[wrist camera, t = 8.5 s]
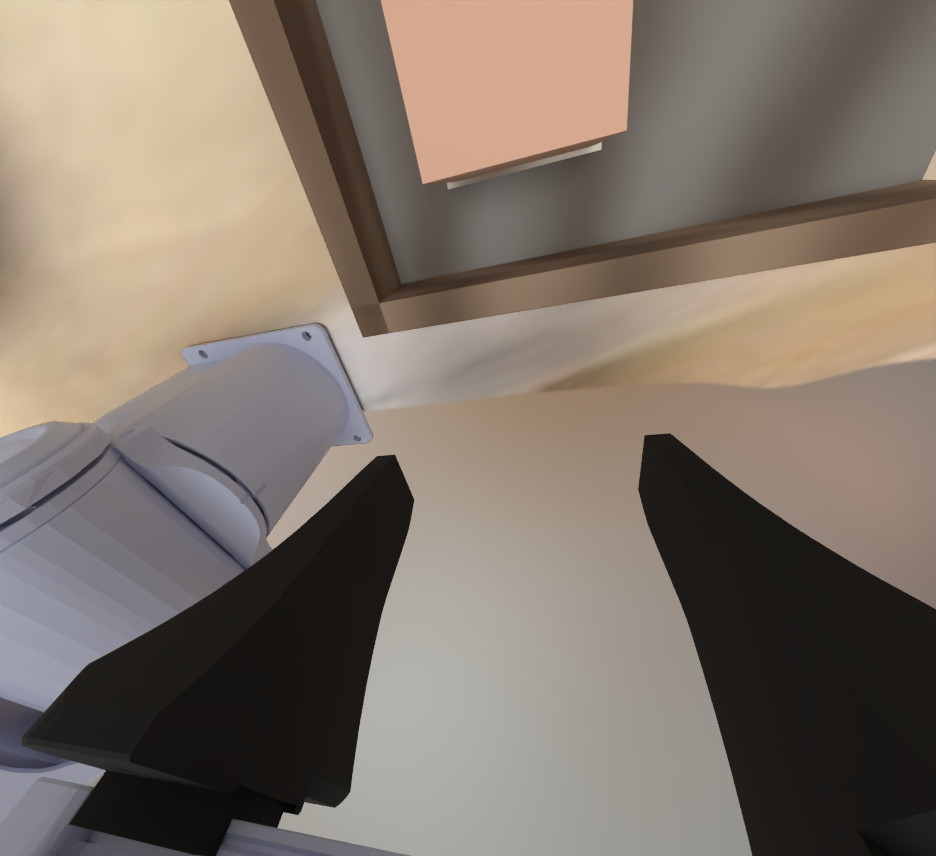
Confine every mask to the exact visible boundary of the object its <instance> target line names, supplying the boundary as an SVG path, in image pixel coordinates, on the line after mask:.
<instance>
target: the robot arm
mask: <svg viewBox="0 0 936 856" xmlns="http://www.w3.org/2000/svg"><path fill="white" fill-rule="evenodd" d="M306 332H308V333H309V334H310V335H311V338H309V337H308V336H307V335H306ZM204 351H205V352H206V353H207V354H206V353H205V352H204ZM182 356H183V357H184V359H185V360H186V362H187V363H188V364H189V366H190V367H188V368H186V369H185V370H183V371H181V372H179V373H178V374H176V375H174V376H172V377H171V378H169V379H167V380H165V381H164V382H162V383H160V384H158V385H157V386H155V387H153V388H151V389H150V390H148V391H146V392H144V393H143V394H141V395H139V396H137V397H135V398H134V399H132V400H130V401H128V402H127V403H125V404H123V405H121V406H120V407H118V408H116V409H114V410H113V411H111V412H109V413H107V414H106V415H104V416H103V417H101V418H100V419H99V420H97V421H96V422H95V423H78V424H77V423H69V422H59V421H53V422H47V423H43V424H39V425H36V426H33V427H29V428H26V429H23V430H21V431H18V432H15V433H12V434H10V435H7V436H4V437H2V438H0V856H409V855H404V854H399V853H394V852H389V851H384V850H380V849H375V848H370V847H365V846H361V845H356V844H351V843H346V842H342V841H336V840H332V839H327V838H322V837H317V836H313V835H308V834H303V833H298V832H293V831H289V830H284V829H279V828H277V827H278V824H279V821H280V819H281V816H282V814H283V812H286V813H291V814H296V815H298V814H299V813H300V812H301V810H302V807H303V804H304V802H307V803H312V804H319V805H323V806H329V807H334V808H335V807H336V806H338V805H339V804H340V803H341V802H342V801H343V800H344V799H345V798H346V797H347V796H348V794H349V793H350V789H351V781H352V773H353V766H354V759H355V752H356V745H357V738H358V731H359V725H360V719H361V713H362V708H363V702H364V696H365V690H366V684H367V679H368V674H369V669H370V665H371V660H372V655H373V650H374V645H375V641H376V636H377V632H378V627H379V623H380V619H381V614H382V611H383V607H384V604H385V600H386V597H387V594H388V591H389V588H390V584H391V582H392V578H393V576H394V573H395V570H396V566H397V564H398V561H399V558H400V554H401V552H402V549H403V545H404V542H405V539H406V536H407V533H408V529H409V525H410V520H411V515H412V509H413V503H414V498H413V496H412V494H411V491H410V489H409V487H408V484H407V482H406V480H405V477H404V475H403V472H402V470H401V468H400V466H399V463H398V461H397V459H396V456H395V455H388V456H377V457H376V458H375V459H374V460H372V462H370V463H369V464H368V465H367V466H366V467H365V468H364V469H363V470H362V471H360V472H359V473H358V474H357V475H356V476H355V477H354V478H353V479H352V480H351V481H350V482H349V483H348V484H347V485H346V486H345V487H344V488H343V489H342V490H341V491H340V492H339V493H338V494H336V495H335V496H334V497H333V498H332V499H331V500H330V501H329V502H328V503H327V504H326V505H325V506H324V507H323V508H322V509H320V510H319V511H318V512H317V513H316V514H315V515H314V516H312V517H311V518H310V519H309V520H308V521H307V522H306V523H305V524H304V525H302V526H301V527H300V528H299V529H298V530H297V531H296V532H294V533H293V534H292V535H291V536H290V537H288V538H287V539H286V540H285V541H283V542H282V543H281V544H280V545H278V546H277V547H276V548H275V549H271V547H270V546H269V544H268V542H267V540H266V538H267V536H268V535H269V533H270V532H271V531H272V529H273V528H274V526H275V525H276V524H277V522H278V521H279V519H280V518H281V516H282V515H283V514H284V512H285V511H286V510H287V508H288V507H289V505H290V504H291V503H292V501H293V500H294V498H295V497H296V495H297V494H298V492H299V491H300V490H301V488H302V487H303V486H304V484H305V483H306V481H307V480H308V479H309V477H310V476H311V474H312V473H313V471H314V470H315V469H316V467H317V466H318V464H319V463H320V462H321V460H322V459H323V457H324V456H325V455H326V453H327V452H328V450H329V449H330V448H331V446H340V445H351V444H362V443H369V442H371V440H372V439H373V433H372V431H371V429H370V426H369V424H368V422H367V420H366V418H365V416H364V413H363V411H362V409H361V407H360V404H359V402H358V400H357V398H356V396H355V394H354V391H353V389H352V387H351V385H350V383H349V380H348V378H347V376H346V374H345V372H344V370H343V367H342V365H341V363H340V361H339V359H338V356H337V354H336V352H335V350H334V348H333V346H332V343H331V341H330V339H329V337H328V335H327V332H326V331H325V329H324V328H323V327H322V326H321V325H319V324H308V325H303V326H297V327H292V328H286V329H281V330H275V331H270V332H264V333H259V334H254V335H248V336H243V337H237V338H232V339H226V340H221V341H215V342H210V343H204V344H199V345H193V346H188V347H186V348H184V349H182ZM356 435H358V436H360V438H359V437H357V436H356ZM638 490H639V493H640V498H641V501H642V505H643V509H644V512H645V516H646V520H647V523H648V526H649V528H650V531H651V533H652V536H653V538H654V540H655V543H656V545H657V548H658V550H659V552H660V555H661V557H662V560H663V562H664V564H665V567H666V569H667V571H668V574H669V576H670V579H671V581H672V584H673V586H674V588H675V591H676V593H677V595H678V598H679V600H680V603H681V605H682V608H683V611H684V613H685V616H686V618H687V621H688V624H689V627H690V630H691V634H692V636H693V640H694V643H695V647H696V650H697V653H698V656H699V660H700V663H701V666H702V669H703V673H704V676H705V679H706V683H707V686H708V690H709V693H710V697H711V700H712V703H713V707H714V710H715V713H716V717H717V721H718V724H719V728H720V731H721V735H722V739H723V743H724V746H725V750H726V753H727V757H728V761H729V765H730V768H731V772H732V775H733V780H734V784H735V788H736V792H737V796H738V799H739V803H740V807H741V811H742V815H743V819H744V823H745V826H746V831H747V835H748V839H749V843H750V847H751V851H752V856H936V609H934V608H932V607H930V606H929V605H927V604H925V603H923V602H921V601H920V600H918V599H916V598H914V597H912V596H910V595H909V594H907V593H905V592H903V591H901V590H899V589H898V588H896V587H894V586H892V585H890V584H888V583H887V582H885V581H883V580H881V579H879V578H878V577H875V576H874V575H872V574H870V573H869V572H867V571H865V570H864V569H861V568H860V567H858V566H857V565H855V564H853V563H851V562H850V561H848V560H847V559H845V558H843V557H841V556H840V555H838V554H837V553H835V552H833V551H832V550H830V549H828V548H827V547H825V546H823V545H822V544H820V543H819V542H817V541H815V540H814V539H812V538H810V537H809V536H807V535H806V534H804V533H803V532H801V531H799V530H798V529H796V528H795V527H793V526H792V525H790V524H789V523H787V522H786V521H784V520H783V519H782V518H780V517H779V516H777V515H776V514H774V513H773V512H771V511H770V510H768V509H767V508H766V507H764V506H763V505H761V504H760V503H758V502H757V501H756V500H754V499H753V498H751V497H750V496H749V495H747V494H746V493H745V492H743V491H742V490H740V489H739V488H738V487H736V486H735V485H734V484H733V483H731V482H730V481H728V480H727V479H726V478H725V477H723V476H722V475H721V474H719V473H718V472H717V471H716V470H715V469H713V468H712V467H711V466H710V465H708V464H707V463H706V462H704V461H703V460H702V459H701V458H700V457H698V456H697V455H696V454H695V453H694V452H692V451H691V450H690V449H689V448H687V447H686V446H685V445H684V444H682V443H681V442H680V441H679V440H678V439H676V438H675V437H674V436H673V435H671V434H657V435H645V437H644V446H643V454H642V463H641V471H640V480H639V489H638ZM104 771H106V772H105V773H104V775H103V776H102V778H101V779H100V781H99V782H98V783H97V785H96V786H95V787H91V786H89V785H90V784H91V783H92V782H93V781H94V780H96V779H97V778H98V777H99V776H100V775H101V774H102V773H103V772H104Z"/></svg>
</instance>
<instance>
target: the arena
mask: <svg viewBox="0 0 936 856" xmlns="http://www.w3.org/2000/svg"><path fill="white" fill-rule="evenodd" d="M229 2H230V4H231V7H232V9H233V12H234V14H235V17H236V19H237V22H238V24H239V27H240V29H241V32H242V34H243V37H244V39H245V42H246V44H247V47H248V49H249V52H250V54H251V57H252V60H253V62H254V65H255V67H256V70H257V72H258V75H259V77H260V80H261V82H262V85H263V87H264V90H265V92H266V95H267V97H268V100H269V102H270V105H271V107H272V110H273V112H274V115H275V117H276V120H277V122H278V125H279V127H280V130H281V132H282V135H283V137H284V140H285V142H286V145H287V148H288V150H289V153H290V155H291V158H292V160H293V163H294V165H295V168H296V170H297V173H298V175H299V178H300V180H301V183H302V185H303V188H304V190H305V193H306V195H307V198H308V200H309V203H310V205H311V208H312V210H313V213H314V215H315V218H316V220H317V223H318V225H319V228H320V230H321V233H322V236H323V238H324V241H325V243H326V246H327V248H328V251H329V253H330V256H331V258H332V261H333V263H334V266H335V268H336V271H337V273H338V276H339V278H340V281H341V283H342V286H343V288H344V291H345V293H346V296H347V298H348V301H349V303H350V306H351V308H352V311H353V313H354V316H355V318H356V321H357V324H358V326H359V329H360V331H361V334H362V336H363V337H369V336H375V335H381V334H387V333H393V332H399V331H405V330H411V329H417V328H423V327H429V326H435V325H441V324H447V323H453V322H459V321H465V320H471V319H477V318H483V317H489V316H495V315H501V314H507V313H513V312H519V311H526V310H532V309H538V308H544V307H550V306H556V305H562V304H568V303H574V302H580V301H586V300H592V299H598V298H604V297H610V296H616V295H622V294H628V293H634V292H640V291H646V290H652V289H658V288H664V287H670V286H676V285H682V284H688V283H694V282H700V281H706V280H712V279H718V278H724V277H730V276H737V275H743V274H749V273H755V272H761V271H767V270H773V269H779V268H785V267H791V266H797V265H803V264H809V263H815V262H821V261H827V260H833V259H839V258H845V257H851V256H857V255H863V254H869V253H875V252H881V251H887V250H893V249H899V248H905V247H911V246H917V245H923V244H929V243H935V242H936V180H922V179H923V177H924V175H925V172H926V170H927V168H928V166H929V164H930V161H931V159H932V157H933V155H934V153H935V151H936V0H633V16H632V36H631V56H630V76H629V96H628V116H627V131H624V132H622V133H620V134H618V135H616V136H613V137H611V138H609V139H607V140H604V141H602V142H600V143H598V144H596V145H593V146H591V147H587V148H583V149H580V150H576V151H572V152H568V153H564V154H560V155H556V156H553V157H549V158H545V159H541V160H537V161H533V162H529V163H526V164H522V165H518V166H514V167H510V168H506V169H502V170H499V171H495V172H491V173H487V174H483V175H479V176H475V177H472V178H468V179H464V180H460V181H456V182H448V183H433V184H423V183H422V179H421V174H420V170H419V166H418V161H417V157H416V152H415V148H414V144H413V139H412V135H411V131H410V126H409V122H408V117H407V113H406V109H405V104H404V100H403V96H402V91H401V87H400V82H399V78H398V74H397V69H396V65H395V61H394V56H393V52H392V47H391V43H390V39H389V34H388V30H387V26H386V21H385V17H384V12H383V8H382V4H381V0H229Z"/></svg>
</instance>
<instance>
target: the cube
mask: <svg viewBox="0 0 936 856" xmlns="http://www.w3.org/2000/svg"><path fill="white" fill-rule="evenodd" d="M381 4H382V8H383V12H384V17H385V21H386V26H387V30H388V34H389V39H390V43H391V47H392V52H393V56H394V61H395V65H396V69H397V74H398V78H399V82H400V87H401V91H402V96H403V100H404V104H405V109H406V113H407V117H408V122H409V126H410V131H411V135H412V139H413V144H414V148H415V152H416V157H417V161H418V166H419V170H420V174H421V179H422V183H423V184H433V183H448V182H456V181H460V180H464V179H468V178H472V177H475V176H479V175H483V174H487V173H491V172H495V171H499V170H502V169H506V168H510V167H514V166H518V165H522V164H526V163H529V162H533V161H537V160H541V159H545V158H549V157H553V156H556V155H560V154H564V153H568V152H572V151H576V150H580V149H583V148H587V147H591V146H593V145H596V144H598V143H600V142H602V141H604V140H607V139H609V138H611V137H613V136H616V135H618V134H620V133H622V132H624V131H627V116H628V96H629V76H630V56H631V36H632V16H633V0H381Z"/></svg>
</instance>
